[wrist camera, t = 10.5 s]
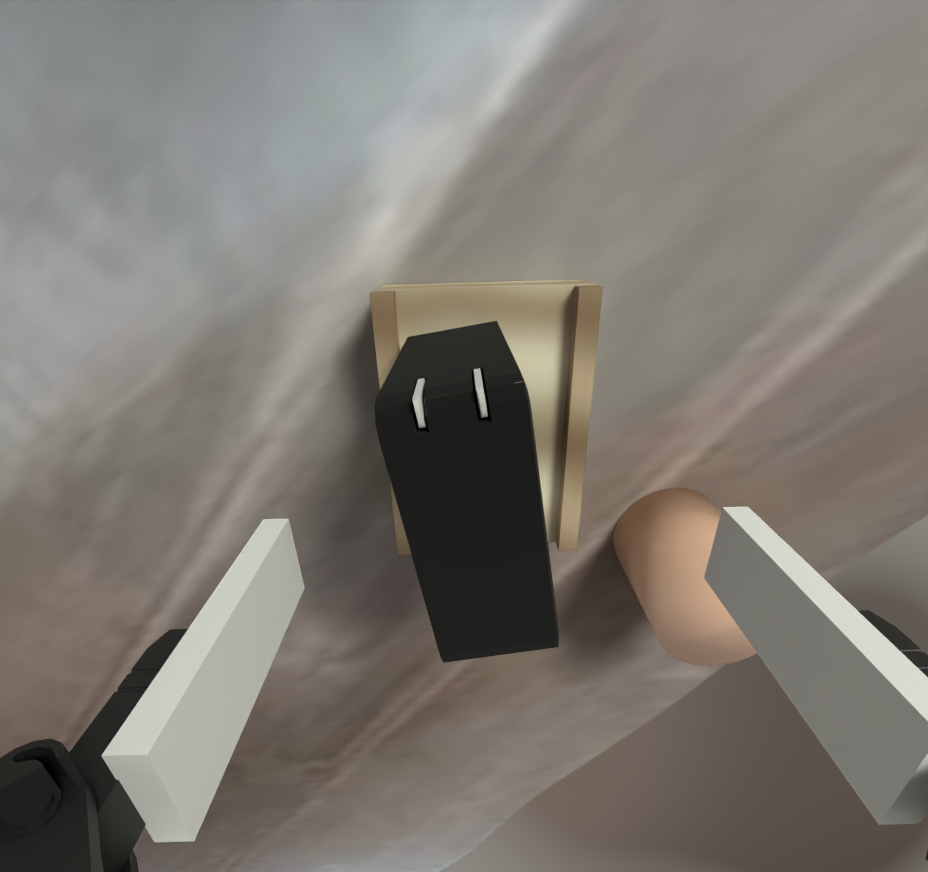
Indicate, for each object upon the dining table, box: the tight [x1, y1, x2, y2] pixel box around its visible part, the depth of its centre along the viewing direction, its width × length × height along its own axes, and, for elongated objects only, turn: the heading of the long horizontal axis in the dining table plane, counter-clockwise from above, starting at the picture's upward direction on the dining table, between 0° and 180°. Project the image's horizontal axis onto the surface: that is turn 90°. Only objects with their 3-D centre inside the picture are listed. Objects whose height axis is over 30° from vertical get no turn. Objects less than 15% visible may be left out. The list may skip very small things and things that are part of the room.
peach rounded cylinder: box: [613, 488, 757, 665], centre depth 26 cm, size 7×7×7 cm
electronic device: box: [375, 321, 559, 662], centre depth 18 cm, size 4×10×10 cm, turn 10°
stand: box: [369, 280, 603, 555], centre depth 23 cm, size 14×10×4 cm
